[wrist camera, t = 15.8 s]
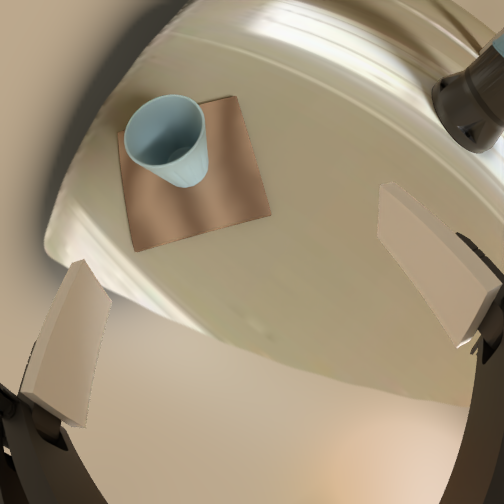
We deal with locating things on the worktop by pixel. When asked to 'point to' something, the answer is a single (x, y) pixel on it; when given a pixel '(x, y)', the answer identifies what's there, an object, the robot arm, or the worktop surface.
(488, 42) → the bottle
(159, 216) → the board
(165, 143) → the cup
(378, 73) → the worktop surface
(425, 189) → the worktop surface
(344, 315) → the worktop surface
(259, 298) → the worktop surface
